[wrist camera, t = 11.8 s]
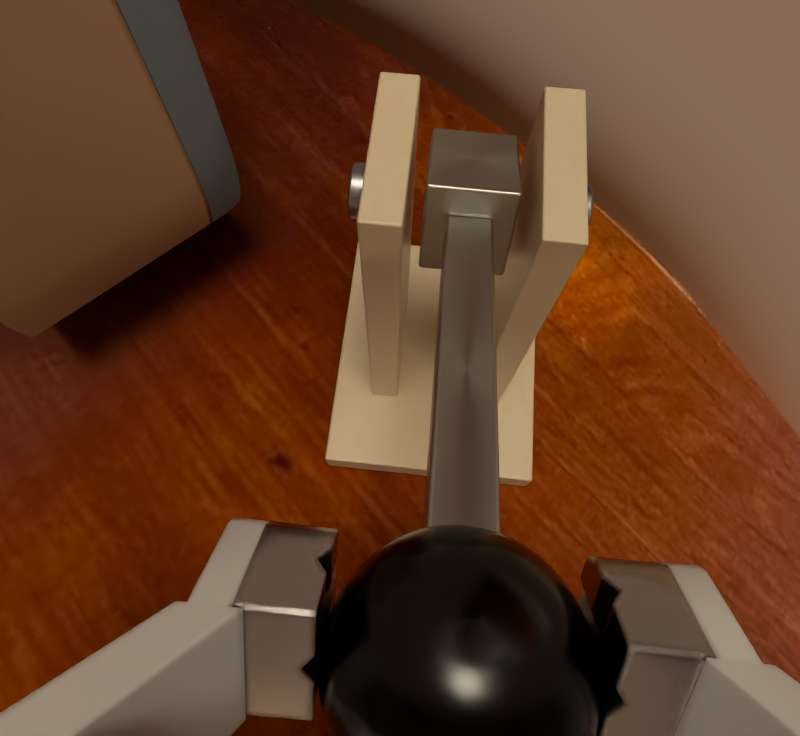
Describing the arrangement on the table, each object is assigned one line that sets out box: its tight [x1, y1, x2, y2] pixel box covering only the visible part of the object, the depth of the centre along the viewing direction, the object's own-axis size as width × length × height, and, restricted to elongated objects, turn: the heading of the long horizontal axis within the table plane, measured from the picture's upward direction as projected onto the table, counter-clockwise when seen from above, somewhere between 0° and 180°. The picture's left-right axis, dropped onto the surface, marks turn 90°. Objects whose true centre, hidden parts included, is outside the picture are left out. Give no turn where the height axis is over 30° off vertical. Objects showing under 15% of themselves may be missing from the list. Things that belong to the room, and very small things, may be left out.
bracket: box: [325, 72, 593, 486], centre depth 19 cm, size 10×8×13 cm
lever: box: [318, 128, 602, 736], centre depth 11 cm, size 14×4×4 cm, turn 174°
